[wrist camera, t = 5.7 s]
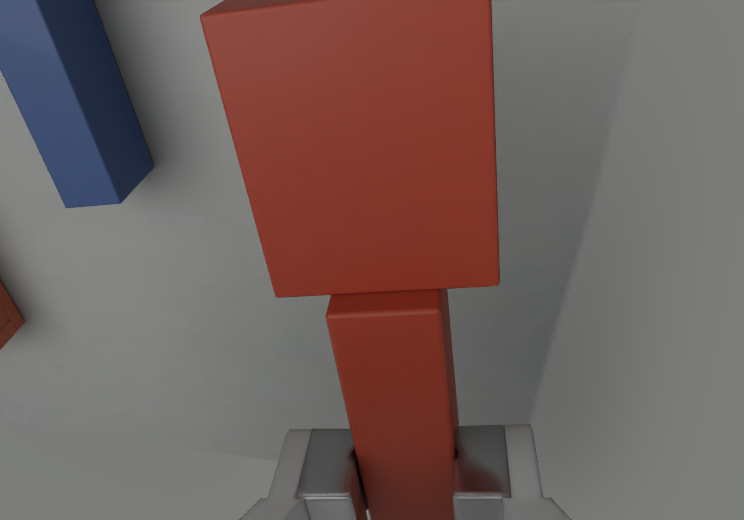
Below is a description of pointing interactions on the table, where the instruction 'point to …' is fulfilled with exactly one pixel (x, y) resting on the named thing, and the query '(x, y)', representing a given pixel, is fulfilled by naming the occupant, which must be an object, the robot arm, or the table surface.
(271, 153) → the red stepped bar
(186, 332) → the table surface
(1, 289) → the red tray
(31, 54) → the blue stepped bar
